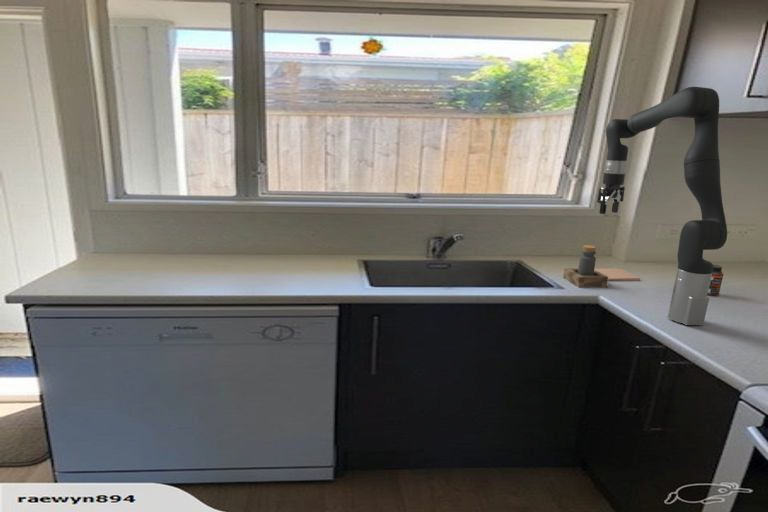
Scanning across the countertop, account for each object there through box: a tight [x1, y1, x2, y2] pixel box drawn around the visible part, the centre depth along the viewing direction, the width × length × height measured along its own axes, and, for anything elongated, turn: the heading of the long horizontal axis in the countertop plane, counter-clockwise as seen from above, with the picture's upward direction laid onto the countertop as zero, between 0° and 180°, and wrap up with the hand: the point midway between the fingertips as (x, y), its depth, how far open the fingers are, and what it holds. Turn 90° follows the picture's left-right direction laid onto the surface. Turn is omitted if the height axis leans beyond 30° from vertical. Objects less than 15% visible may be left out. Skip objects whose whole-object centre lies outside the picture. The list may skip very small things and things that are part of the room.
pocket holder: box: [563, 267, 609, 288], centre depth 186 cm, size 12×12×4 cm
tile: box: [594, 268, 641, 282], centre depth 196 cm, size 14×14×1 cm
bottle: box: [578, 244, 597, 276], centre depth 184 cm, size 6×6×15 cm
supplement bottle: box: [707, 264, 724, 297], centre depth 174 cm, size 6×6×11 cm
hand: (608, 213), depth 183 cm, fingers open, 8 cm apart
